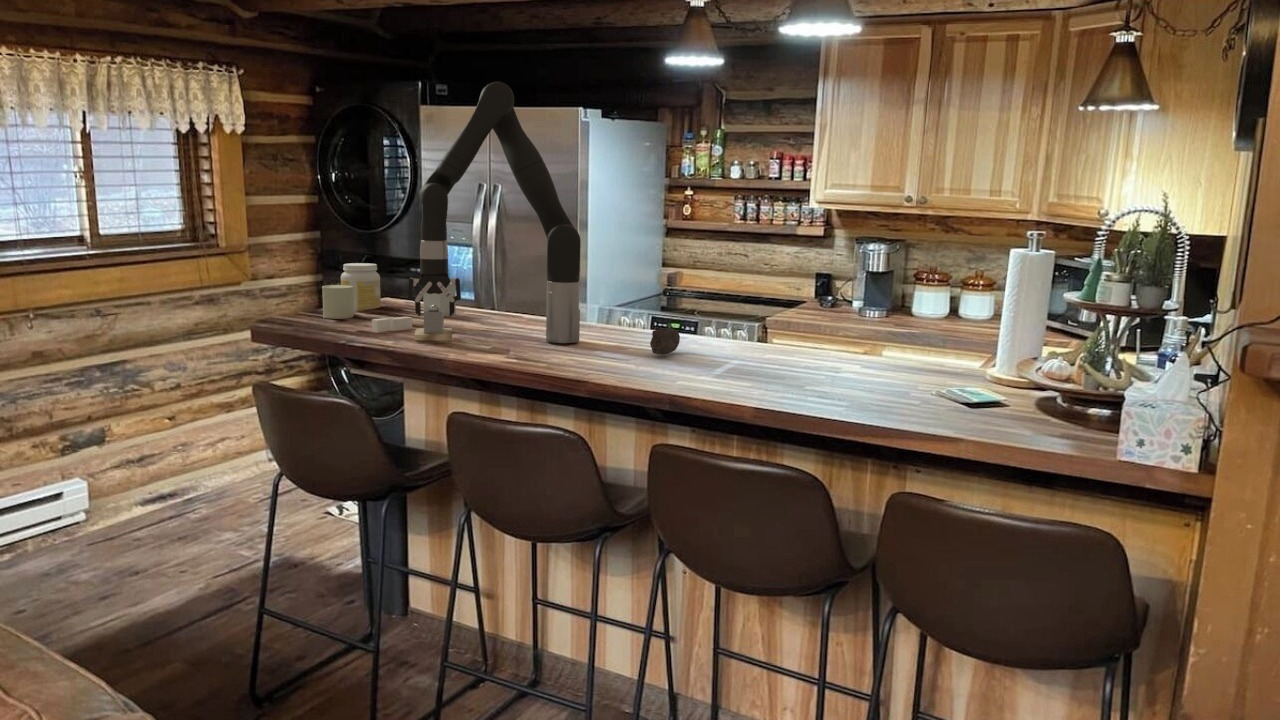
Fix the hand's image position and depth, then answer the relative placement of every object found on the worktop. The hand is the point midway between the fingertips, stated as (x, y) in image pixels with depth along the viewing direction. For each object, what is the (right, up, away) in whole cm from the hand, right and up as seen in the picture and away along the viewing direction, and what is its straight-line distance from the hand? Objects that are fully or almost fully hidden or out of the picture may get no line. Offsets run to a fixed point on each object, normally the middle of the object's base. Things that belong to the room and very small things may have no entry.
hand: (435, 315), depth 265 cm
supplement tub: (-33, +1, +44) cm, 55 cm away
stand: (-1, -7, +1) cm, 7 cm away
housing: (0, -4, +1) cm, 5 cm away
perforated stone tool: (+64, -11, -6) cm, 65 cm away
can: (-35, -2, +25) cm, 43 cm away
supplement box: (-6, -1, +35) cm, 36 cm away
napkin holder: (-15, -6, +8) cm, 18 cm away
